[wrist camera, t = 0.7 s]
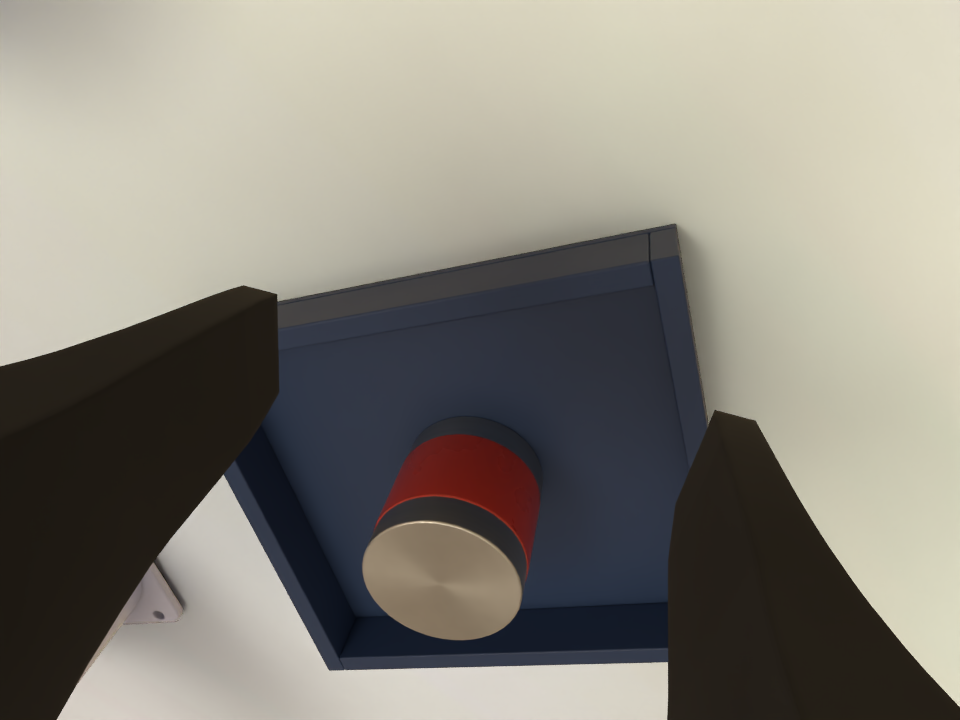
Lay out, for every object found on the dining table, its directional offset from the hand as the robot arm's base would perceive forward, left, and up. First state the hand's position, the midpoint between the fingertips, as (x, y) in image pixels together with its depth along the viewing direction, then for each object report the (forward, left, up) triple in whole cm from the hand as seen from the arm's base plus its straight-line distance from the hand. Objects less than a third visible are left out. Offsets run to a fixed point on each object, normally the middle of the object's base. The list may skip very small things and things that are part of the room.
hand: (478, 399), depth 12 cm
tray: (-4, -8, -10) cm, 13 cm away
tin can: (-4, -8, -9) cm, 13 cm away
